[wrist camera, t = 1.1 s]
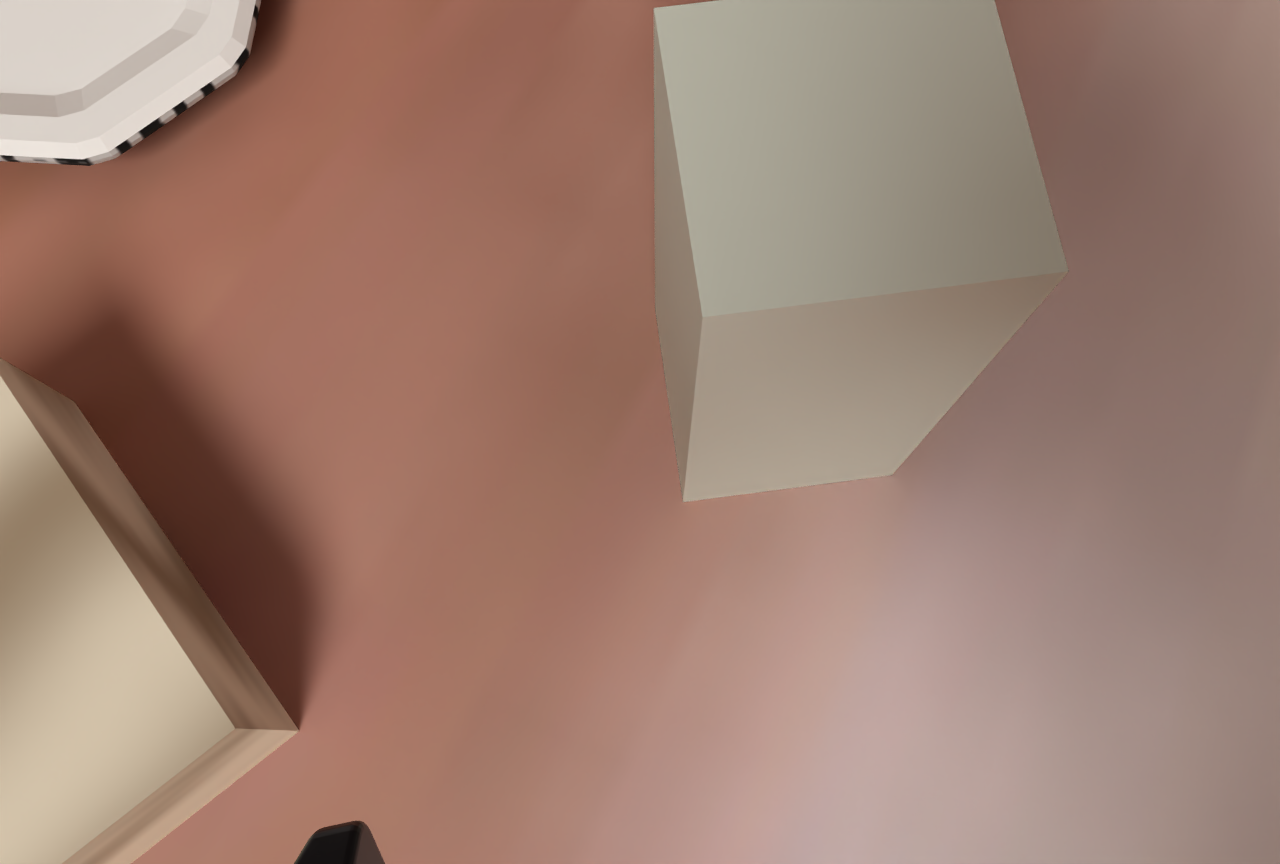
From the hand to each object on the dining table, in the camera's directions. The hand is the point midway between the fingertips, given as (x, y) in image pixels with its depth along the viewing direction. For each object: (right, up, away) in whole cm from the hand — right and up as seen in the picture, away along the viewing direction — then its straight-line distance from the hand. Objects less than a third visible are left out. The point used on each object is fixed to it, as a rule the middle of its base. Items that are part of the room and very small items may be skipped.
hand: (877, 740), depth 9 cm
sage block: (+1, +4, +16) cm, 17 cm away
